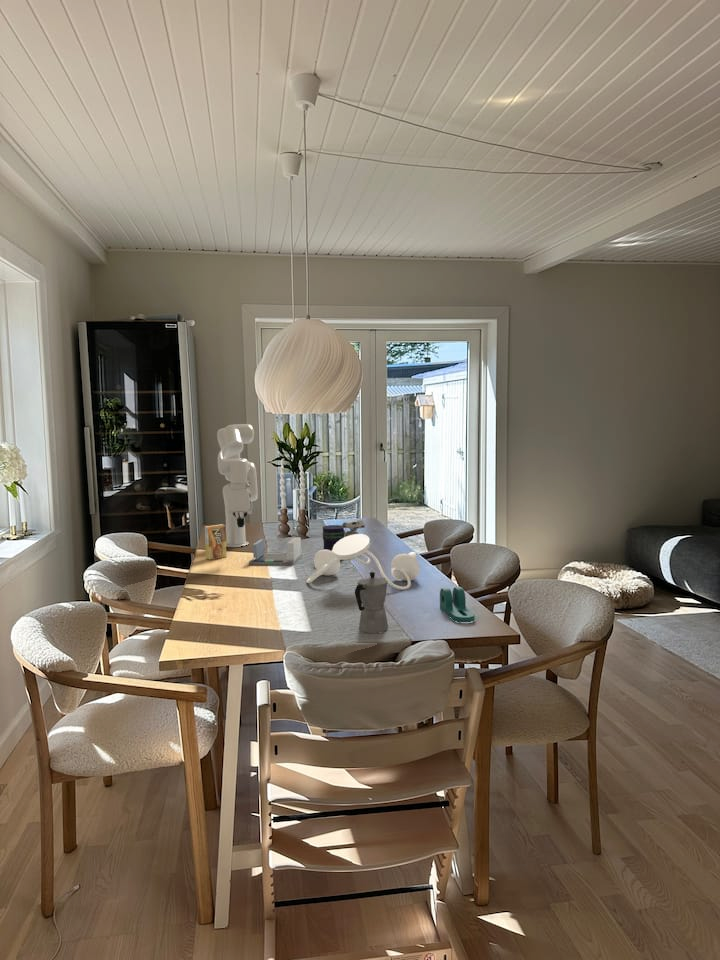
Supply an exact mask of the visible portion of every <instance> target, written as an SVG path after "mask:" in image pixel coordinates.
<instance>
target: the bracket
mask: <svg viewBox="0 0 720 960" xmlns="http://www.w3.org/2000/svg"><path fill="white" fill-rule="evenodd" d="M466 602H467V601H466V593H465V589H464V588H463V587H462V586H458V587H453V588H452V590H451V588H449V587H445V588H440V590H439V609H440V610H441V611H442V612H443V613H444V612H445V613H446V616H447V617H449V618H450V617H451V618H452V619H453V620H454V621H457V622H471V621H474V620H476V618H475V617H476V616H475V613H474V612H473V611H471V609H469V608H468V607H467V606H466ZM445 613H444V614H445ZM451 618H450V619H451ZM452 619H451V620H452ZM453 620H452V621H453ZM454 621H453V622H454ZM474 622H475V621H474Z"/></svg>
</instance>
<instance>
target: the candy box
mask: <svg viewBox="0 0 720 960" xmlns="http://www.w3.org/2000/svg"><path fill="white" fill-rule="evenodd" d="M226 542H227V536H226V524H221V523H220V524H215V525H208V526H206V525H205V526H204V544H205V545H204V546H205V547H204V548H205V559H206V560H208V559H209V561H211V560H210V559H212V560H217V558H218V559H223V557H224V558H227V547H226Z"/></svg>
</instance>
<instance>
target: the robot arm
mask: <svg viewBox="0 0 720 960" xmlns="http://www.w3.org/2000/svg"><path fill="white" fill-rule="evenodd" d="M216 436H217V443H218V446H219V448H220V451H219V452H218V455H217V469H218V473H219V474H220V475H222V476H224V478H225V479H226V481H229V482H230V483H227V484H225V485H224V486H223V487H222V497H223V501H224V512H225V531H226V548H242V547H241V546H243V547H247V546H249V545H248V544H250V543H249V541H246V540H247V539H246V520H245V518H246V517H247V516H248V515H252V514H253V511H252V510H253V502H256V501H257V500H258V497H259V489H258V479H257V476H258V475H257V468H256V465H255V464H254V463H253V462H252V461H249V460H248V459H247V458H244V457H242V458H241V453H242V452H243V450H244V445H246V444H247V445H248V444H251V443H252V442H253V441H254V438H255V430H254V427H253V426H252V425H251V424H250V423H244V424H242V423H240V424H239V423H238V424H237V423H236V424H229V425H227V426H226V427H223V428H219V429H218V431H217V434H216ZM246 545H247V546H246Z"/></svg>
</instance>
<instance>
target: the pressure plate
mask: <svg viewBox="0 0 720 960" xmlns="http://www.w3.org/2000/svg"><path fill="white" fill-rule="evenodd" d="M252 552H253V556H252V557H253V558H252V559H253V560H255V559H258V558H260V557H261V556H262V555H263V554H264V553H265V539H263V538H262V539H259V540H257V541H256V542H254V543H253V544H252Z"/></svg>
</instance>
